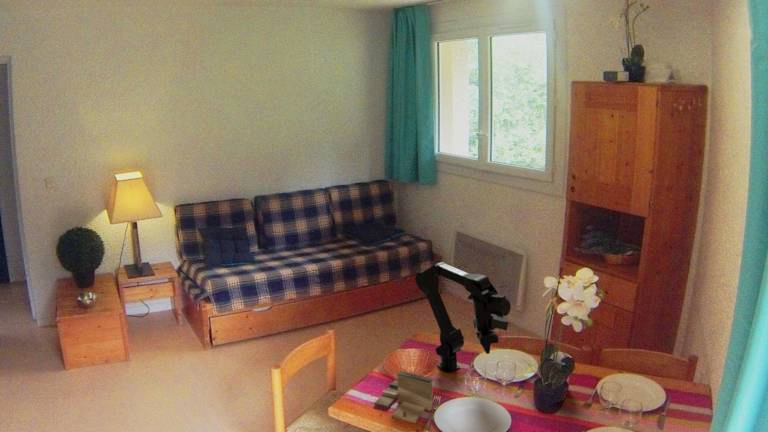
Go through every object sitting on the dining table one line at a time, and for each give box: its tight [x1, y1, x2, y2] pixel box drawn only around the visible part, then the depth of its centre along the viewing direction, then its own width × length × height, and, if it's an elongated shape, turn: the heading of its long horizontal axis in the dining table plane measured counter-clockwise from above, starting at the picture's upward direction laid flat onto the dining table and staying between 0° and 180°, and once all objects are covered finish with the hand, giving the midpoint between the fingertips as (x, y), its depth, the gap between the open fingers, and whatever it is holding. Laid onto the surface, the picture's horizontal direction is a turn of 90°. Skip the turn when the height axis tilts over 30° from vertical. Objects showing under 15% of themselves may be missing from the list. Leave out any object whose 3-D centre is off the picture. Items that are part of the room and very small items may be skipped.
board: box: [374, 380, 398, 410], centre depth 213 cm, size 16×5×2 cm, turn 153°
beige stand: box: [392, 370, 434, 424], centre depth 202 cm, size 10×12×11 cm
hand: (487, 353), depth 216 cm, fingers closed
